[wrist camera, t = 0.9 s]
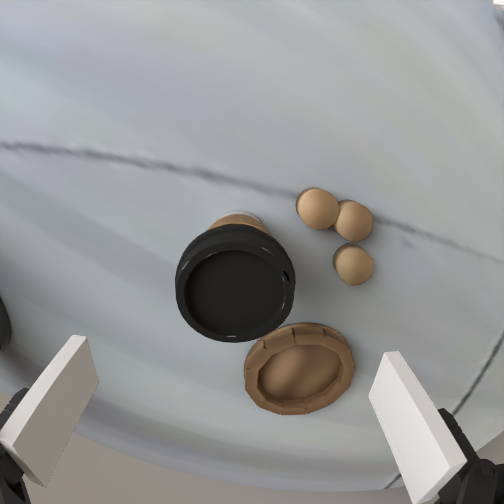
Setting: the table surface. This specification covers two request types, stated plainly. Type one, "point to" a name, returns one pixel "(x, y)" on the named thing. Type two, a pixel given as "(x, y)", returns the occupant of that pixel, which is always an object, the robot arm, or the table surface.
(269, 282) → the coffee cup
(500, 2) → the white angular bracket-shaped piece
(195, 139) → the table surface
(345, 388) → the round tray
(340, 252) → the bead
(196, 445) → the table surface
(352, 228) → the bead
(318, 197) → the bead
